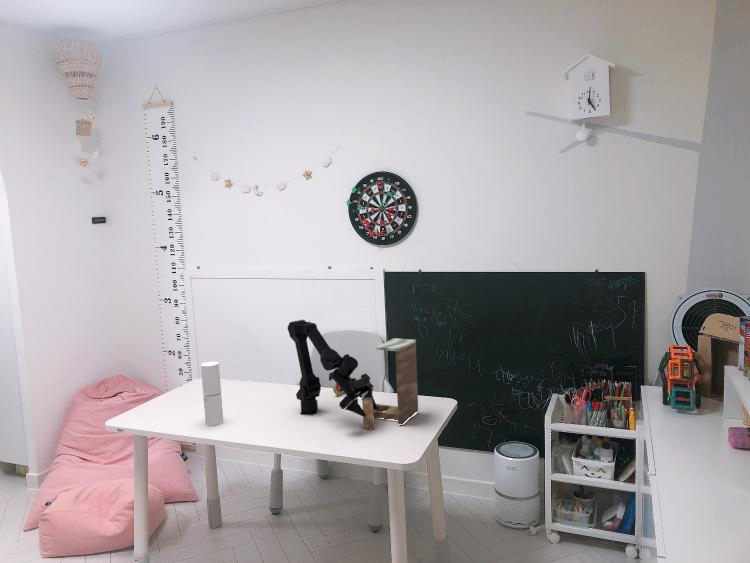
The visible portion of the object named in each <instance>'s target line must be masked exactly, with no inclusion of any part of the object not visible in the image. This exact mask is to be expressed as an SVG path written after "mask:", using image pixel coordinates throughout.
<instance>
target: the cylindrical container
mask: <svg viewBox="0 0 750 563" xmlns="http://www.w3.org/2000/svg"><path fill="white" fill-rule="evenodd" d="M200 369H201V382H202V395H203V396H202V397H203V406H204V407H203V408H204V419H205V425H206V426H208V427H216V426H220V425H223V423H224V413H223V412H224V409H223V400H222V398H223V396H222V386H221V385H222V384H221V372H220V371H221V370H220V362H218V361H207V362H203V363H201V364H200Z"/></svg>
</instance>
